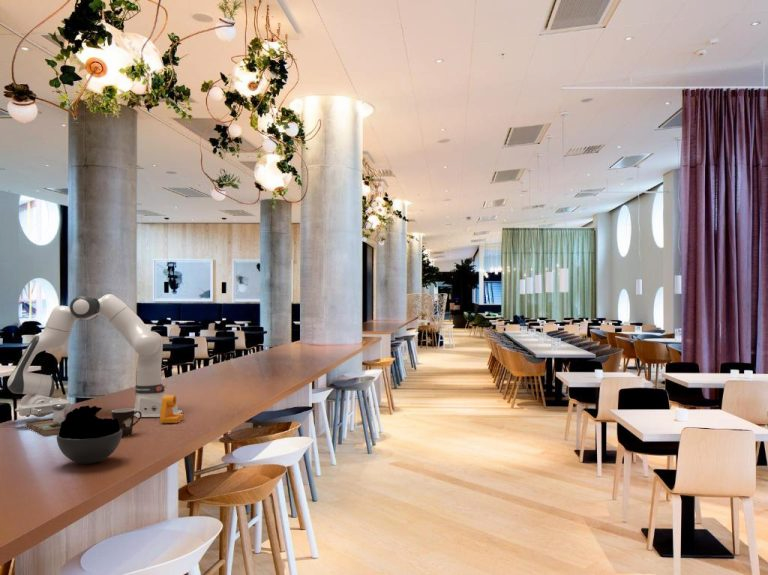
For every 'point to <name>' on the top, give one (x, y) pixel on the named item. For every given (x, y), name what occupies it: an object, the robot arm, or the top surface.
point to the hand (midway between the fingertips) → (50, 410)
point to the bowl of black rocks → (88, 435)
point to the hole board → (43, 427)
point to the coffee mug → (125, 419)
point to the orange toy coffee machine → (169, 410)
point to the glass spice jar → (58, 414)
